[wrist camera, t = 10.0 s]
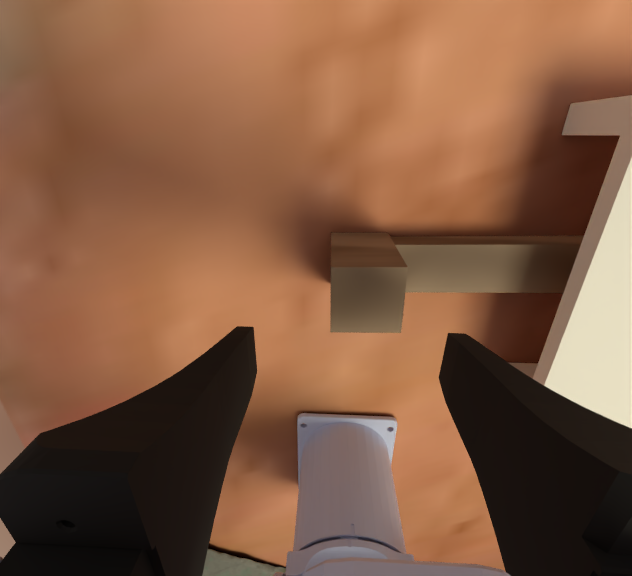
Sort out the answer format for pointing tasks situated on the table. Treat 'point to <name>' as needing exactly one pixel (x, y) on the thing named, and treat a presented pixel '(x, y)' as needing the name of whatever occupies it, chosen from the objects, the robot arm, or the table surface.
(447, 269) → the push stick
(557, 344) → the plinth shelf
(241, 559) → the stone slab
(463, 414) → the robot arm
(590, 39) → the table surface
